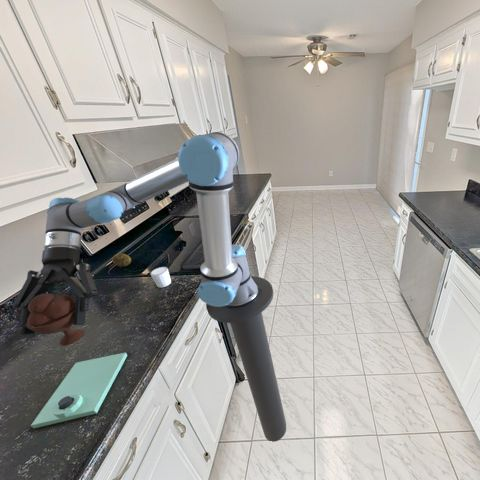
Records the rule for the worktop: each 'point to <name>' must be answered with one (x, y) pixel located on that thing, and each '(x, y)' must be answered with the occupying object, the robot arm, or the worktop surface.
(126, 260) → the potato
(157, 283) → the shot glass
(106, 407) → the worktop surface
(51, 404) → the scale
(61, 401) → the button
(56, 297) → the ice cream bowl
